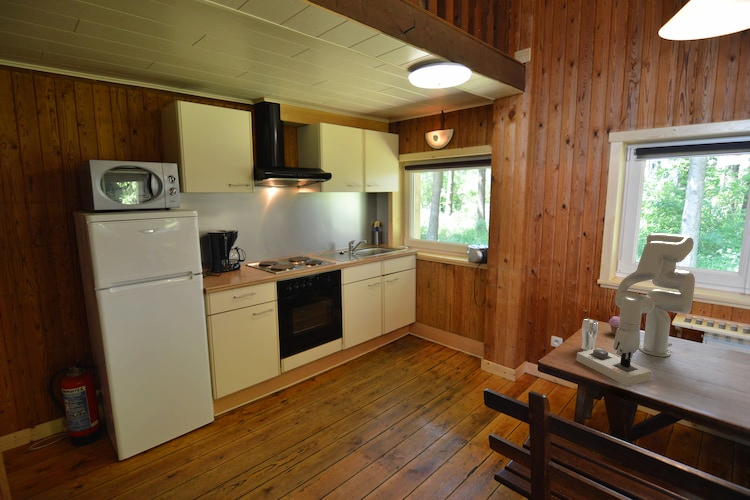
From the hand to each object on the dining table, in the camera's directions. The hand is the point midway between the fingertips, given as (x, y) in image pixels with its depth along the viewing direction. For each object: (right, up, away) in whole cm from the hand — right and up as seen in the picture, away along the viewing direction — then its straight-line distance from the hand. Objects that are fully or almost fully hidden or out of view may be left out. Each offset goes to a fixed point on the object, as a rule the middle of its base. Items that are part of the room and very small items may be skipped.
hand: (625, 366), depth 163 cm
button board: (-2, -4, +6) cm, 8 cm away
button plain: (-4, 0, +12) cm, 12 cm away
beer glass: (0, 0, +28) cm, 28 cm away
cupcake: (+27, +3, +47) cm, 54 cm away
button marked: (0, -3, +1) cm, 3 cm away
